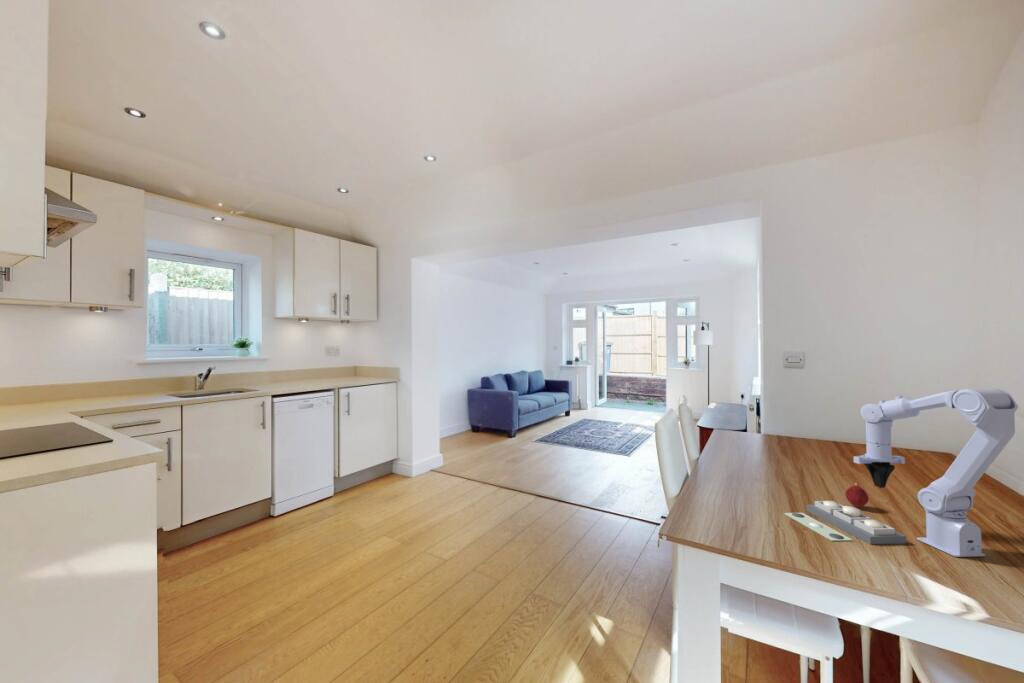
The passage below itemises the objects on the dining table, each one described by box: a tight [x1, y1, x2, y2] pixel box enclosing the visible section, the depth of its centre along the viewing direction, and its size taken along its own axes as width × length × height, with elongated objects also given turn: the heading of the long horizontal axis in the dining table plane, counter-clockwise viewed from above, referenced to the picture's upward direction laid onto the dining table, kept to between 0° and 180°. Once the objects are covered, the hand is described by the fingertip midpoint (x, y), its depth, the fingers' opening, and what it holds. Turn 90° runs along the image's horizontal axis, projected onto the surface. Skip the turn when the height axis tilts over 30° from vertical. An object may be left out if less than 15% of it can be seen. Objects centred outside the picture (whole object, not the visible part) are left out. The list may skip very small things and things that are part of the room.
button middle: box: [843, 505, 861, 517], centre depth 117 cm, size 4×4×2 cm
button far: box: [822, 500, 841, 508], centre depth 124 cm, size 4×4×2 cm
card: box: [783, 512, 854, 542], centre depth 116 cm, size 18×6×1 cm, turn 2°
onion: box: [844, 482, 870, 509], centre depth 130 cm, size 6×6×8 cm
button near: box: [864, 519, 885, 529], centre depth 110 cm, size 4×4×2 cm
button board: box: [806, 500, 907, 545], centre depth 117 cm, size 22×10×4 cm, turn 2°
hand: (879, 486), depth 120 cm, fingers closed
